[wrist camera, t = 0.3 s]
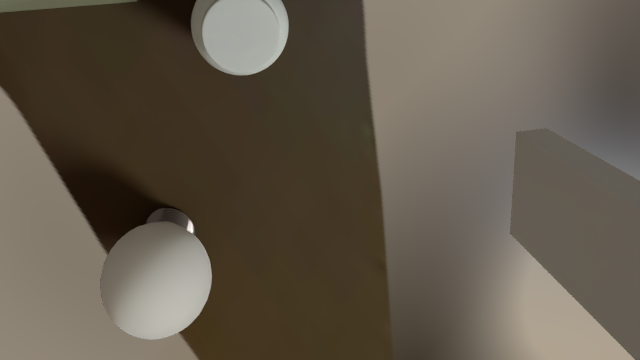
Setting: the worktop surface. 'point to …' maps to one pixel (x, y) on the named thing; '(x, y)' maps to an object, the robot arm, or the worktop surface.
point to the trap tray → (50, 4)
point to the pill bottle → (239, 33)
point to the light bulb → (156, 277)
